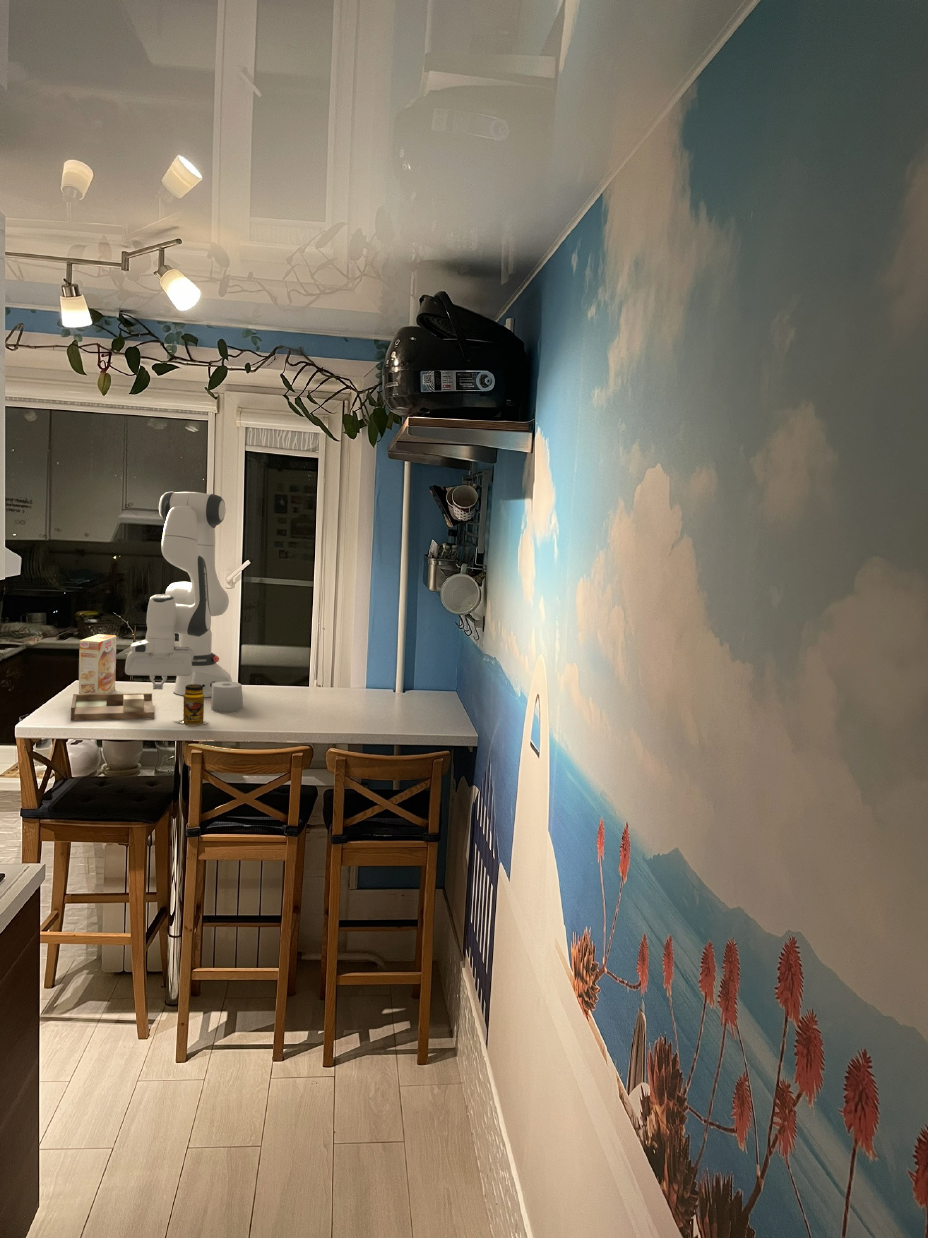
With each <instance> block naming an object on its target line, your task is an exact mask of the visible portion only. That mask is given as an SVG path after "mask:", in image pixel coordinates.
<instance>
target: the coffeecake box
mask: <svg viewBox="0 0 928 1238" xmlns="http://www.w3.org/2000/svg"><path fill="white" fill-rule="evenodd" d="M78 647H79V651H78V653H79V656H78V657H79V658H78V661H79V662H78V694H111V693H112V692H113V691H116V671H117V670H116V668H117V667H116V664H117V635H113V634H101V633H100V634H99V633H98V634H95V635H93V636H90V637H89V636H88V637H86V638H84V639H81V640H79V646H78Z"/></svg>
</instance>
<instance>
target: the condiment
mask: <svg viewBox="0 0 928 1238" xmlns="http://www.w3.org/2000/svg"><path fill="white" fill-rule="evenodd" d="M185 688H186V689H185V694H184V695H183V705H182V706H183V710H182V711H183V715H182V717H183V719H178V720H174V721H173V723H174V722H175V723H177V724H181V725H183V726H187V727H190V728H191V727H198V726H202V725H205V724H210V721H205V720H204V719H205V718H204V710H205V708H204V707H205V697H204V694H203V686H202V685H198V684H190V685H187V686H186V687H185ZM182 721H184V723H180V722H182ZM184 724H185V725H184Z"/></svg>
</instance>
